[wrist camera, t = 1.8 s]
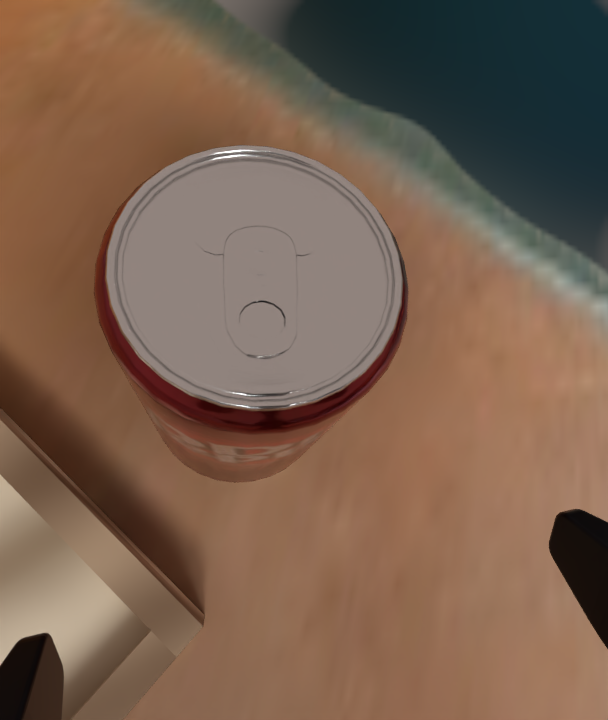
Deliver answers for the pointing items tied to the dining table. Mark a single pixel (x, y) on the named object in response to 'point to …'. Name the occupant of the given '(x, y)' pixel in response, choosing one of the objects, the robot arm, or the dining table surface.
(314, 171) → the soda can
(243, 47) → the dining table surface
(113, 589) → the birch tray
